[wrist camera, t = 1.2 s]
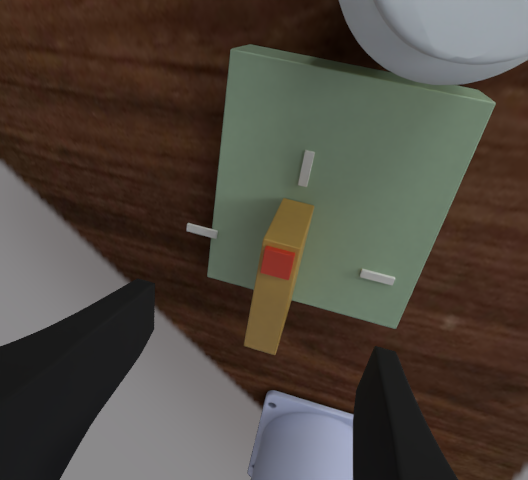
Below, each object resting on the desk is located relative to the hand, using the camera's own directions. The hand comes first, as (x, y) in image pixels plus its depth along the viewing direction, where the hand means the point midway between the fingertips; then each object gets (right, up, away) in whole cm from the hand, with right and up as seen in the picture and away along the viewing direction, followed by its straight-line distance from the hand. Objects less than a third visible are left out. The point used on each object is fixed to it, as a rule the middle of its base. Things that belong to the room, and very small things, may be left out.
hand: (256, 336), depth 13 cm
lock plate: (+3, +5, +6) cm, 8 cm away
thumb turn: (+1, +3, +5) cm, 5 cm away
